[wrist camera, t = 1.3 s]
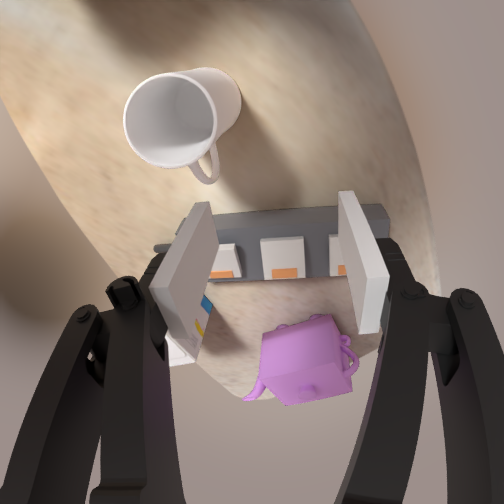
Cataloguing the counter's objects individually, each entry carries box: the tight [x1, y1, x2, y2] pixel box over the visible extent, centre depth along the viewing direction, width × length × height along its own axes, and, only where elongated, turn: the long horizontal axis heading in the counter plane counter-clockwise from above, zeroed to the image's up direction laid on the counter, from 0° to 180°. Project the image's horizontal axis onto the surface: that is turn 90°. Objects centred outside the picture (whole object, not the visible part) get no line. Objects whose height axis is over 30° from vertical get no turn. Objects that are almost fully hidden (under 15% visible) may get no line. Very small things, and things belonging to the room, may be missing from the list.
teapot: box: [242, 314, 359, 406], centre depth 47 cm, size 20×10×12 cm, turn 119°
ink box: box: [165, 295, 213, 367], centre depth 44 cm, size 9×8×12 cm
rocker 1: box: [209, 243, 242, 279], centre depth 38 cm, size 5×5×1 cm
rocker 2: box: [260, 236, 306, 280], centre depth 36 cm, size 5×5×1 cm
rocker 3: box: [329, 234, 347, 276], centre depth 35 cm, size 5×5×1 cm
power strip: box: [154, 204, 390, 282], centre depth 39 cm, size 8×32×4 cm, turn 98°
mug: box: [123, 67, 241, 185], centre depth 27 cm, size 12×8×12 cm
